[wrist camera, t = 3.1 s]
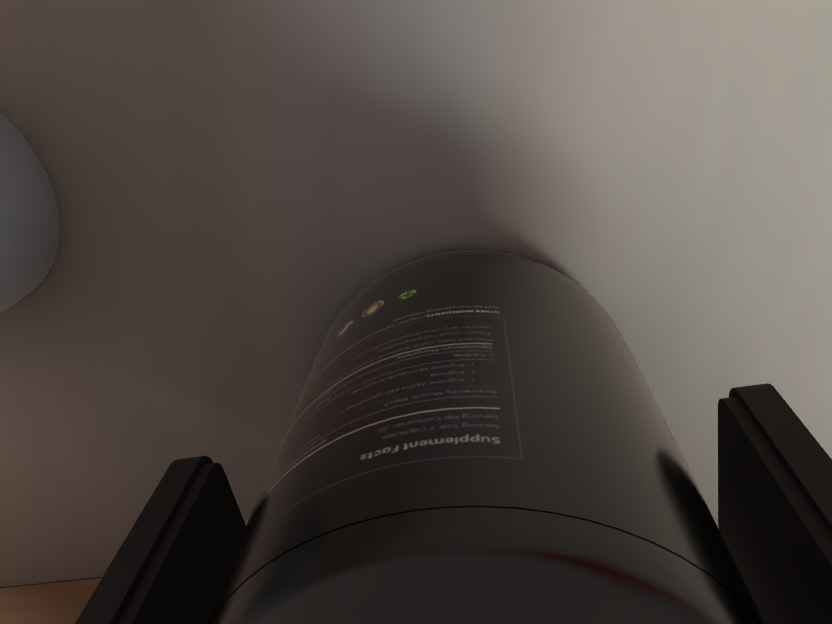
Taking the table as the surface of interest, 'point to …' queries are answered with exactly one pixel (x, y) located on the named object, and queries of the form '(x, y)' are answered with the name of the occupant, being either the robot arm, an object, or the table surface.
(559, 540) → the supplement bottle
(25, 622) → the walnut block
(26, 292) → the grey rounded pebble
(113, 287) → the table surface
